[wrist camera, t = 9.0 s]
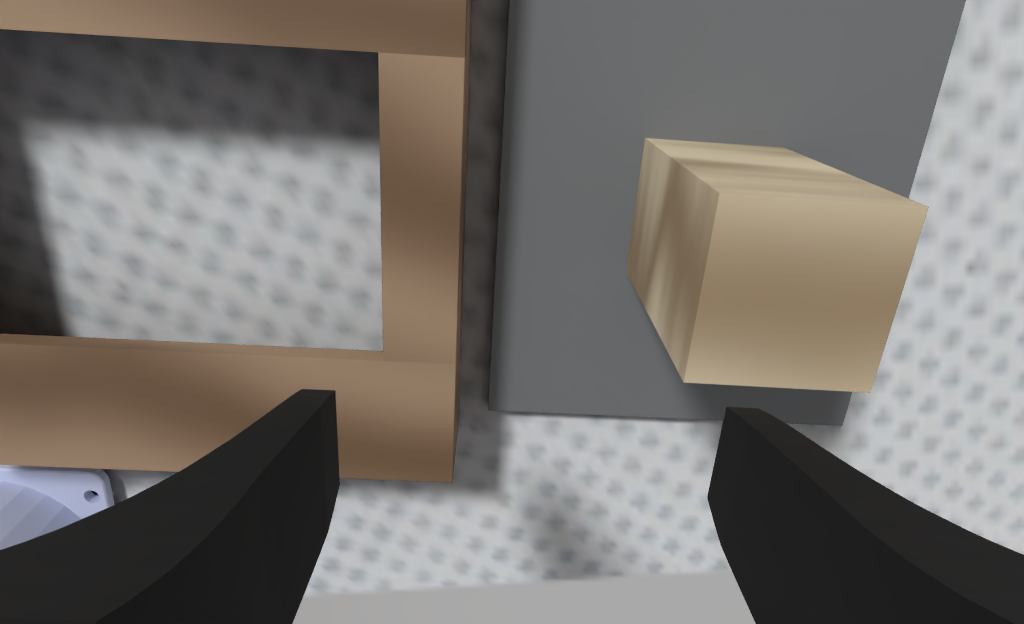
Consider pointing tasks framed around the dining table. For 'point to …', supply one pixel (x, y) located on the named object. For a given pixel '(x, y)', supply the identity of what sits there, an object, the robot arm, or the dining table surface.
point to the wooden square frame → (273, 369)
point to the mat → (688, 117)
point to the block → (768, 264)
